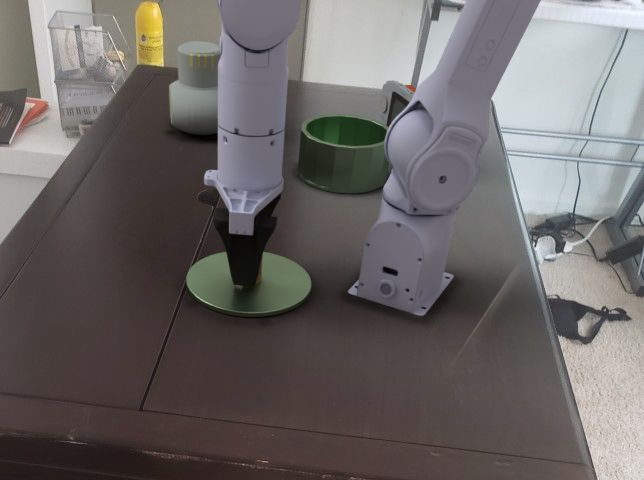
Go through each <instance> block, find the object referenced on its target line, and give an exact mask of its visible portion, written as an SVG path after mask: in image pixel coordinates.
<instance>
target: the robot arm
mask: <svg viewBox="0 0 644 480" xmlns="http://www.w3.org/2000/svg"><path fill="white" fill-rule="evenodd" d="M215 1H216V5H217V8H218V11H219V13H220V16H221V20H222V22H223V23H222V24H221V29H220V30H221V31H220V32H221V33H220V35H219V39H218V45H219V50H220V54H221V58H220V60H219V63H218V133H217V169H209V170H208V169H207V170H206V171H205V173H204V176H203V183H204V185H205V186H206V187H213V188H216V190H217V191H218V193H219V195H220V198H221V199H222V200H223V203H224V205H225V206H226V208H225V207H223V208H222V207H215V209H214V212H213V217H212V218H213V219H212V221H213V225H214V229H215V230H216V232H217V234H218V235H219V237H220V239H221V241H222V244H223V246H224V250H225V252H226V254H227V258H228V263H229V269H230V274H231V278H232V281H233V284H234V285H240V286H252V287H253V286H255V283H256V280H257V277H258V273H259V269H260V264H261V259H262V255H263V252H265V248H266V246H267V243H268V242H269V239H270V238H271V236H272V235H273V233H274V231H275V230H276V228H277V225H278V216H273V213H274V210H276V207H277V205H278V203H279V202H280V200H281V199H282V193H283V190H284V183H285V182H284V181H285V179H284V177H283V163H284V149H285V133H286V119H287V117H286V115H287V99H288V87H289V86H288V85H289V84H288V83H289V82H288V81H289V70H290V68H289V65H288V49H289V37H290V36H291V35H292V34H294V32H295V29H296V27H297V25H298V22H299V18H300V14H301V5H302V0H215ZM541 2H542V0H466V1H465V3H464V5H463V7H462V9H461V12H460V14H459V16H458V19H457V21H456V23H455V25H454V27H453V29H452V32H451V35H450V36H449V39H448V41H447V43H446V45H445V47H444V49H443V52H442V54H441V56H440V59H439V61H438V63H437V66H436V67H435V70H434V71H433V72H432V73H430V75H429V76H427V77H426V78H425V79H424V80H423V81H421V82H420V83H419V84H418V86H417V87H416V91H415V93H414V96H413V98H412V100H411V101H410V103H409V104H408V106H407V107H406V108H405V109H404V110H403V111H402V112H401V113H400V114H399V115H398V116H397V117H396V118H395V119H394V120H393V121H392V123H391V125H390V126H389V128H388V131H387V133H386V137H385V143H384V148H385V155H386V158H387V160H388V162H389V165H390V168H391V172H390V175H389V176H388V179H386V181H385V183H384V185H383V188H382V195H381V200H380V206H379V207H380V208H379V213H378V218H377V219H376V222H375V223H374V224H373V225H372V227H371V228H370V229H369V231H368V233H367V235H366V237H365V240H364V243H363V250H362V257H361V263H360V270H359V276H358V279H357V280H356V282H355V283H354V284H353V285H352V286H351V287H350V288H349V289H348V290H347V293H348V294H350V295H352V296H356V297H359V298H361V299H364V300H365V299H366V300H368V301H372V302H375V303H378V304H381V305H383V306H384V305H385V306H388V307H391V308H394V309H397V310H400V311H403V312H406V313H409V314H413V315H415V316H421V317H423V316H424V315H426V314H427V312H428V311H429V310H430V309H431V307H432V306H433V304H434V303H435V302H436V301H437V300H438V298H439V297H440V296H441V294H442V293H443V292H444V290H445V289H446V288H447V287H448V286H449V284H450V283H451V281H452V280H453V279H454V277H455V276H454V275H453V274H452V273H449V272H446V271H445V269H446V265H447V260H448V256H449V252H450V248H451V245H452V239H453V236H454V231H455V227H456V224H457V219H458V214H459V211H460V206H461V204H462V203H463V202H464V201H466V199H467V198H468V197H469V196H470V195H471V193H472V191H473V189H474V187H475V185H476V183H477V179H478V175H479V161H480V156H481V153H482V152H483V149H484V147H485V145H486V143H487V141H488V139H489V134H490V114H491V111H490V110H491V100H492V98H493V96H494V94H495V93H496V90H497V88H498V86H499V84H500V82H501V80H502V78H503V76H504V74H505V73H506V70H507V69H508V66H509V64H510V62H511V60H512V59H513V56H514V55H515V53H516V50H517V49H518V47H519V44H520V43H521V40H522V39H523V37H524V35H525V33H526V31H527V29H528V28H529V27H528V26H529V25H530V23H531V21H532V19H533V17H534V15H535V14H536V11H537V9H538V7H539V5H540V3H541ZM356 287H357V288H356ZM424 308H425V309H424Z"/></svg>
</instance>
